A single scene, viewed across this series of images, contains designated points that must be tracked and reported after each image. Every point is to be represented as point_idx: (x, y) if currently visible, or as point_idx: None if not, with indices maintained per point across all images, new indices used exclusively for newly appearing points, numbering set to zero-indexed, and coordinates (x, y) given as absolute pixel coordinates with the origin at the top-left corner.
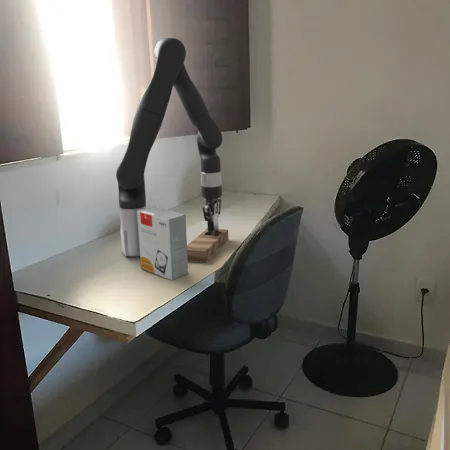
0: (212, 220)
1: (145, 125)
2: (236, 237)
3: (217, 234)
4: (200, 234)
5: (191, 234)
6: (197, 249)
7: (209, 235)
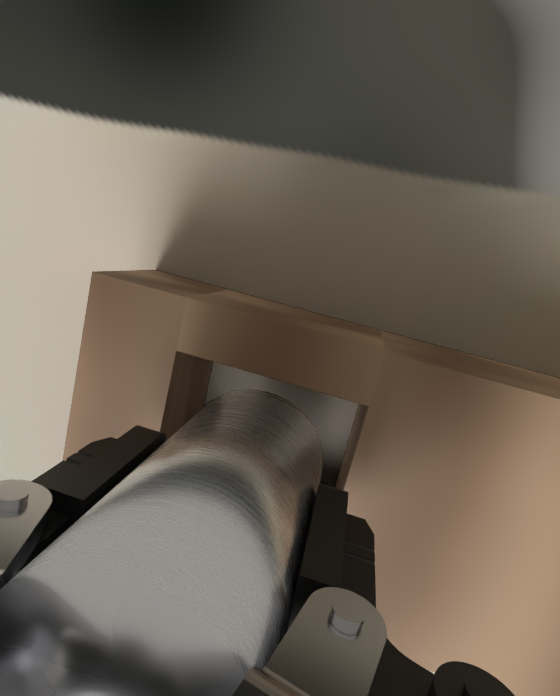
0: (382, 635)
1: None
2: (75, 187)
3: (292, 407)
4: None
5: None
6: None
7: None
